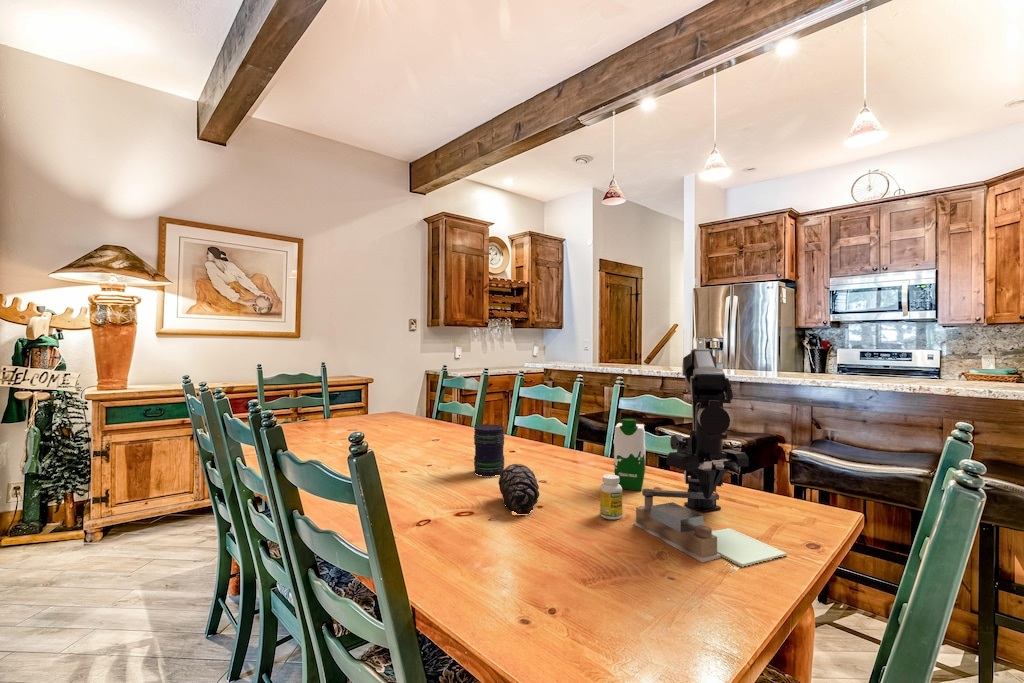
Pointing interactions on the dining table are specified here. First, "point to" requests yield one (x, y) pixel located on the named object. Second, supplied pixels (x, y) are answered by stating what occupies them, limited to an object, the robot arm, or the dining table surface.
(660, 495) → the lever
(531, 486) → the pine cone
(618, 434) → the milk carton
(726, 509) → the dining table surface
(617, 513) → the supplement bottle
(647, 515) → the body
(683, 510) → the flat grey slab block
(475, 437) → the storage jar
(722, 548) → the mat
